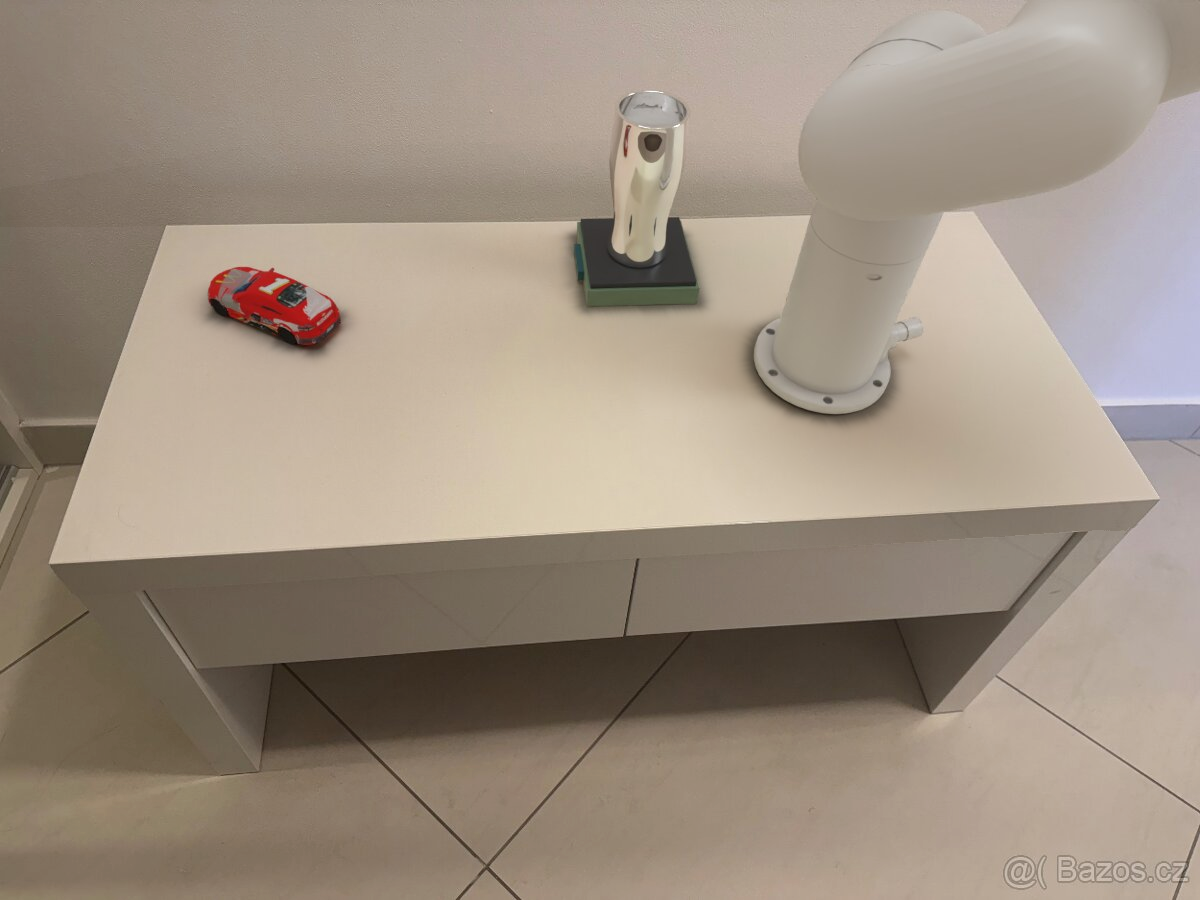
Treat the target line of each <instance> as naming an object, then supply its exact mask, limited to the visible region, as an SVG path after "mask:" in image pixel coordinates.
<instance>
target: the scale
mask: <svg viewBox="0 0 1200 900" xmlns="http://www.w3.org/2000/svg"><path fill="white" fill-rule="evenodd" d="M612 224H613V217H606V218H605V217H604V218H603V217H601V218H594V217H593V218H580V221H577V222H576V243H574V244H573V256H574V257H573V258H574V265H575V271H576V278H577V281H578V282H581V281H582V284H583V292H584V298H585V305H586V307H618V306H619V307H621V306H655V305H657V306H659V305H691V304H695V305H696V304H697V303H698V298H699V292H700V285H699V281H698V279H697V275H696V270H695V266H694V264H693V260H692V256H691V253H690V249H689V245H688V242H687V237H686V234H685V231H684V227H683V223H682V220H681V219H680V217H679V216H673V217H671V216H669V217H668V222H667V243H668V250H667V254H666V257H665V258H664V259H663V260H662V261H661V262H660V263H658V264H656V265H653V266H650V267H644V268H636V267H630V266H626V265H623V264H621V263H619V262H617V261H616V260H615V259H613V258H612V257H611V256H610V254H609V252H608V250H607V241H608V237H609V234H610V231H611V228H612Z"/></svg>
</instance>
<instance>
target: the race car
mask: <svg viewBox="0 0 1200 900" xmlns="http://www.w3.org/2000/svg"><path fill="white" fill-rule="evenodd" d="M207 300H208V303H209V305H210V306H211V307H212V309H214V311H215V312H216V313H217V314H219V315H221V316H223V317H227V316H229V317H230V318H233V319H235V320H237V321H240V322H243V323H245V324H248V325H250V326H253V327H255V328H257V329H260V330H262V331H263V332H264V331H265V332H266V333H269V334H272V335H273V336H276V337H279V336H280V337H281V338H282V340H284V342H286V343H288V344H290V345H295V344H298V345H303V346H310V345H316V344H318V343H319V342H323V340H325V338H326V337H328V336H329V335H330V334H331V333H332V332H333V331H334V330H335V329H336V328H337V327H338V326H340V324H341V323H342V322H341V321H342V318H341V313H340V310H339V308H338V306H337V304H336V303H335V301H334V300H333V299H332V298H331V297H330V296H328V295H326V294H324V293H322V292H320V291H318V290H317V289H314V288H312V287H310V286H308V285H306V284H305V283H303V282H301V281H298V280H296V279H294V278H291V277H289V276H287V275H284V274H282V273H279V272H275V268H274V267H271V268H270V269H269V270H261V269H258V268H253V267H251V266H235V267H232V268H229V269H226V270H223V271H221V272H220V273H218V274H216V275H215V276H214V277H213V278H212V279H211V281H210V284H209V287H208V289H207Z"/></svg>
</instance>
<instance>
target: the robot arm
mask: <svg viewBox="0 0 1200 900" xmlns="http://www.w3.org/2000/svg"><path fill="white" fill-rule="evenodd" d="M1198 92H1200V0H1026V2H1025V3H1024V4H1023V6H1022V7H1021V8H1020V9H1019V11H1018V12H1017V13H1016V14H1015V15H1014V16H1013V18H1012V19H1011V20H1010V22H1008V24H1007V25H1006V26H1005V27H1004V28H1002V29H1000V30H998V31H995V32H993V33H990V34H987V32H986V31H985V29H983V27H982V26H981V25H979V24H978V23H977V22H976V21H975V20H974V19H972V18H970V17H968V16H967V15H965V14H962V13H959V12H955V11H951V10H946V9H933V10H926V11H921V12H917V13H914V14H911V15H909V16H906V17H904V18H902V19H900V20H899V21H897V22H895V23H893V24H892V25H890V26H889V27H888V28H886V29H885V30H884V31H883V32H881V33H880V34H879V35H878V36H876V38H875V39H873V40H872V41H871V42H870V43H869V44H868V45H867V46H866V47H864V49H863V50H862V51H861V52H860V53H859V54H858V55H857V56H856V57H855V58H854V59H853V60H852V61H851V63H850V64H849V65H848V66H847V67H846V68H845V69H844V70H843V71H842V72H841V74H840V75H838V77H836V79H834V80H833V81H832V82H831V83H830V84H829V85H828V86H827V87H826V88H825V90H824V91H823V92H822V93H821V95H820V96H819V97H818V99H817V100H816V101H815V102H814V104H813V105H812V106H811V108H810V110H809V112H808V114H807V116H806V118H805V120H804V123H803V125H802V128H801V130H800V131H801V132H800V135H799V141H798V153H797V154H798V165H799V170H800V173H801V177H802V179H803V181H804V184H805V185H806V187H807V189H808V190H809V192H810V193H811V194H812V195H813V196H814V197H815V200H814V204H813V207H812V211H811V214H810V217H809V220H808V224H807V227H806V230H805V234H804V237H803V240H802V245H801V247H800V251H799V255H798V258H797V261H796V265H795V267H794V271H793V275H792V278H791V281H790V285H789V288H788V291H787V295H786V298H785V301H784V306H783V309H782V312H781V315H780V317H777V318H775V319H773V320H772V321H770V322H768V323H767V324H766V326H764V328H762V330H761V331H760V332H759V334H758V336H757V338H756V341H755V345H754V348H753V361H754V367H755V370H756V371H757V373H758V376H759V378H761V380H762V381H763V383H764V384H765V385H766V386H767V387H768V388H769V389H770V390H771V391H772V392H773V393H774V394H776V395H777V396H778V397H780V398H781V399H782V400H784V401H786V402H788V403H790V404H792V405H794V406H795V407H798V408H801V409H803V410H807V411H811V412H815V413H820V414H828V415H843V414H850V413H854V412H859V411H862V410H864V409H866V408H868V407H870V406H872V405H873V404H874V403H876V402H877V401H878V400H879V399H880V398H881V397H882V395H883V394H884V393H885V390H886V389H887V387H888V385H889V382H890V378H891V373H892V371H891V370H892V369H891V362H890V360H889V356H888V353H889V351H890V350H891V349H894V348H896V347H897V345H898V343H900V342H907V341H911V340H913V339H916V338H919V337H921V336H922V335H923V333H924V325H923V322H922V320H921V319H920V318H919V317H916V316H914V317H910V318H907V319H903V320H900V321H897V320H898V318H899V315H900V313H901V311H902V308H903V307H904V303H905V302H906V299H907V297H908V294H909V292H910V289H911V288H912V285H913V283H914V281H915V278H916V276H917V274H918V272H919V269H920V267H921V264H922V263H923V260H924V258H925V256H926V253H927V251H928V249H929V247H930V244H931V243H932V240H933V237H934V236H935V233H936V232H937V229H938V227H939V225H940V222H941V220H942V218H943V215H944V213H948V212H951V211H952V212H953V211H958V210H963V209H970V208H974V207H979V206H980V207H981V206H985V205H989V204H995V203H1001V202H1006V201H1011V200H1017V199H1021V198H1022V199H1023V198H1027V197H1031V196H1036V195H1040V194H1045V193H1049V192H1052V191H1056V190H1059V189H1063V188H1065V187H1068V186H1070V185H1073V184H1076V183H1078V182H1080V181H1083V180H1085V179H1087V178H1089V177H1091V176H1093V175H1094V174H1096V173H1099V172H1101V171H1102V170H1104V169H1105V168H1107V167H1108V166H1110V165H1112V164H1113V163H1115V161H1116V160H1118V159H1119V158H1120V157H1122V156H1123V155H1124V154H1125V153H1126V152H1127V151H1128V150H1129V149H1130V148H1131V147H1132V146H1133V145H1134V144H1135V143H1136V141H1137V140H1138V139H1139V138H1140V136H1141V135H1142V134H1143V133H1144V131H1145V130H1146V128H1147V127H1148V125H1149V123H1150V121H1151V119H1152V117H1153V116H1154V114H1155V112H1156V110H1157V107H1158V106H1159V105H1161V104H1163V103H1165V102H1168V101H1171V100H1174V99H1177V98H1182V97H1185V96H1188V95H1191V94H1194V93H1198Z"/></svg>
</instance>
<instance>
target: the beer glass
mask: <svg viewBox="0 0 1200 900" xmlns="http://www.w3.org/2000/svg"><path fill="white" fill-rule="evenodd" d="M690 118H691V109H690V106H689V104H687V102H686V101H685V100H684V99H683V98H681V97H680V96H677V95H675V94H673V93H670V92H667V91H662V90H657V89H638V90H633V91H630V92H627V93H625V94H623V95H621V96H620V97H619V98H618V100H617V101H616V103H615V109H614V117H613V122H612V126H611V127H612V128H611V135H610V143H609V157H608V158H609V159H608V160H609V164H608V166H609V180H610V189H611V196H612V206H613V216H612V218H613V224H612V228H611V231H610V234H609V237H608V241H607V250H608V252H609V254H610V256H611V257H612V258H613V259H615V260H616V261H617V262H619V263H621V264H623V265H626V266H630V267H636V268H644V267H650V266H653V265H656V264H658V263H660V262H661V261H662V260H663V259H664V258H665V257H666V254H667V250H668V243H667V222H668V217H670V214H671V210H672V207H673V204H674V201H675V199H676V196H677V193H678V190H679V188H680V184H681V181H682V177H683V174H684V170H685V165H686V161H687V155H688V148H689V147H688V145H689V134H690V133H689V132H690Z"/></svg>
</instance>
